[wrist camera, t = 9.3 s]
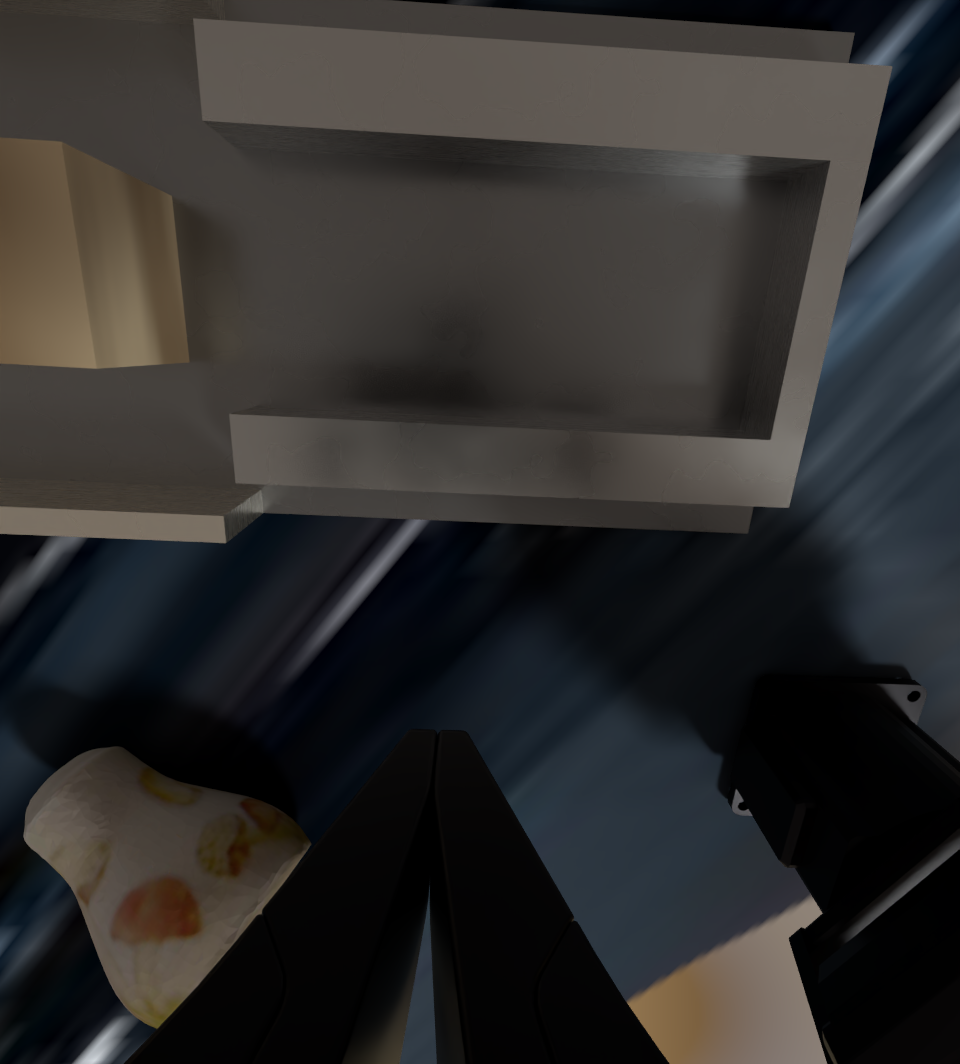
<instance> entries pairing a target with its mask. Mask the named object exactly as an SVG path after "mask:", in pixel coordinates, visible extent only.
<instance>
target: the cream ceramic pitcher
mask: <svg viewBox="0 0 960 1064" xmlns="http://www.w3.org/2000/svg"><path fill="white" fill-rule="evenodd" d="M24 839H25V841H26V843H27V844H28V845H29V847H30V848H32V849H33V850H34V851H35V852H37V853H38V854H39V855H40V856H41V857H42V858H43V859H45V860H46V861H47V862H48V863H49V864H50V865H51V866H52V867H53V868H54V869H55V870H56V871H57V872H58V873H59V874H60V875H61V876H62V877H63V878H64V879H65V880H66V882H67V883H68V884H69V885H70V887H71V888H72V890H73V892H74V894H75V896H76V898H77V900H78V903H79V905H80V908H81V910H82V913H83V915H84V918H85V921H86V924H87V926H88V929H89V932H90V935H91V937H92V940H93V943H94V945H95V948H96V951H97V953H98V956H99V958H100V961H101V963H102V966H103V968H104V971H105V973H106V975H107V977H108V980H109V982H110V984H111V986H112V988H113V989H114V991H115V993H116V995H117V996H118V997H119V999H120V1000H121V1002H122V1003H123V1005H124V1006H125V1007H126V1008H127V1009H128V1010H129V1011H130V1012H131V1013H132V1014H133V1015H134V1016H135V1017H137V1018H138V1019H140V1020H141V1021H143V1022H144V1023H146V1024H148V1025H150V1026H152V1027H155V1028H158V1027H159V1026H160V1025H161V1024H162V1023H163V1022H164V1021H165V1020H166V1019H167V1018H168V1017H169V1016H170V1015H171V1014H172V1013H173V1011H174V1010H175V1009H176V1008H177V1007H178V1006H179V1005H180V1004H181V1003H182V1002H183V1001H184V1000H185V999H186V998H187V997H188V996H189V995H190V993H191V992H192V991H193V990H194V989H195V988H196V987H197V986H198V985H199V984H200V982H201V981H202V980H203V979H204V978H205V977H206V975H207V974H208V973H209V972H210V971H211V970H212V968H213V967H214V966H215V965H216V964H217V963H218V961H219V960H220V959H221V958H222V957H223V956H224V954H225V953H226V952H227V951H228V950H229V949H230V947H231V946H232V945H233V944H234V943H235V942H236V940H237V939H238V938H239V937H240V935H241V934H242V933H243V932H244V930H245V929H246V928H247V927H248V925H249V924H250V923H251V922H252V921H253V919H254V918H255V917H256V916H257V915H259V914H261V913H262V909H263V908H264V906H265V905H266V904H267V903H268V902H269V900H270V899H271V898H272V897H273V895H274V894H275V893H276V892H277V891H278V889H279V888H280V887H281V886H282V884H283V883H284V882H285V880H286V879H287V878H288V876H289V875H290V873H291V872H292V871H293V869H294V868H295V866H296V865H297V864H298V862H299V861H300V860H301V858H302V857H303V855H304V854H305V853H306V851H307V850H308V848H309V847H310V846H311V843H310V840H309V839H308V838H307V836H306V835H305V833H304V832H303V830H302V829H301V828H300V827H299V825H298V824H297V823H296V822H295V821H294V820H293V819H292V818H291V817H289V816H288V815H287V814H285V813H284V812H282V811H281V810H279V809H277V808H276V807H274V806H272V805H270V804H268V803H265V802H263V801H260V800H257V799H254V798H251V797H248V796H243V795H239V794H235V793H230V792H225V791H220V790H215V789H210V788H205V787H201V786H196V785H191V784H187V783H183V782H179V781H176V780H174V779H171V778H168V777H166V776H164V775H162V774H160V773H159V772H157V771H156V770H154V769H153V768H151V767H149V766H148V765H146V764H145V763H143V762H142V761H141V760H139V759H138V758H137V757H135V756H134V755H133V754H131V753H130V752H129V751H127V750H126V749H124V748H123V747H119V746H115V747H109V748H98V749H93V750H90V751H87V752H85V753H82V754H80V755H78V756H77V757H75V758H74V759H72V760H71V761H70V762H68V763H67V764H66V765H64V766H63V767H61V768H60V769H59V770H58V771H56V772H55V773H54V774H53V775H52V776H51V777H49V778H48V779H47V780H46V782H45V783H44V784H43V785H42V786H41V787H40V788H39V790H38V791H37V792H36V794H35V795H34V796H33V798H32V799H31V801H30V803H29V805H28V808H27V810H26V816H25V830H24Z"/></svg>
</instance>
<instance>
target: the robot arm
mask: <svg viewBox="0 0 960 1064" xmlns="http://www.w3.org/2000/svg"><path fill="white" fill-rule="evenodd" d="M771 686H774V687H773V689H771V690H770V691H767V689H768V688H769V687H771ZM910 692H911V694H909V693H910ZM908 694H909V695H908ZM926 697H927V691H926V689H925V688H924V687H923V686H922V685H920V684H919V683H918V682H916V681H915V680H911V679H891V678H863V677H835V676H807V675H779V674H768V675H764V676H762V677H760V678H759V679H758V680H757V682H756V684H755V687H754V691H753V695H752V699H751V704H750V708H749V712H748V716H747V720H746V725H745V726H744V727H743V729H742V731H741V735H740V739H739V743H738V747H737V752H736V756H735V760H734V764H733V769H732V773H731V781H732V783H731V787H730V791H729V796H728V803H729V804H730V806H731V808H732V810H733V812H734V813H736V814H737V815H746V816H753V818H754V819H755V821H756V823H757V824H758V826H759V828H760V829H761V831H762V833H763V834H764V836H765V838H766V839H767V841H768V843H769V844H770V846H771V848H772V850H773V851H774V853H775V855H776V856H777V858H778V860H779V861H780V862H781V863H782V864H783V865H784V866H785V867H787V868H795V869H796V871H797V872H798V874H799V876H800V877H801V879H802V880H803V882H804V884H805V885H806V887H807V889H808V890H809V892H810V893H811V895H812V897H813V898H814V900H815V902H816V903H817V905H818V906H819V908H820V910H821V911H822V913H823V914H822V915H820V916H819V917H818V918H817V919H816V920H815V921H813V922H812V923H811V924H810V925H809V926H808V927H806V928H805V929H804V928H800V929H799V930H798V931H796V932H795V933H794V934H793V935H792V936H791V937H789V941H790V945H791V948H792V951H793V954H794V958H795V961H796V964H797V967H798V971H799V973H800V977H801V980H802V983H803V987H804V990H805V993H806V996H807V1000H808V1003H809V1006H810V1009H811V1012H812V1016H813V1019H814V1022H815V1025H816V1029H817V1032H818V1035H819V1038H820V1042H821V1045H822V1048H823V1051H824V1054H825V1058H826V1061H827V1064H960V762H959V761H958V760H957V759H956V758H954V757H953V756H952V755H951V754H950V753H949V752H947V751H946V750H945V749H944V748H943V747H942V746H940V745H939V744H938V743H937V742H936V741H935V740H933V739H932V738H931V737H930V736H929V735H928V734H926V733H925V732H924V731H923V730H922V729H921V728H919V727H918V726H917V723H918V720H919V717H920V714H921V711H922V708H923V706H924V703H925V700H926ZM742 801H744V802H742ZM740 802H742V803H740ZM429 886H430V930H431V950H432V971H433V992H434V1012H435V1033H436V1054H437V1064H669V1062H668V1061H667V1060H666V1058H665V1057H664V1056H663V1054H662V1053H661V1051H660V1050H659V1049H658V1047H657V1046H656V1044H655V1043H654V1041H653V1040H652V1038H651V1037H650V1036H649V1034H648V1033H647V1031H646V1030H645V1028H644V1027H643V1026H642V1024H641V1023H640V1021H639V1020H638V1018H637V1017H636V1015H635V1014H634V1013H633V1011H632V1010H631V1008H630V1007H629V1005H628V1004H627V1002H626V1001H625V1000H624V998H623V997H622V995H621V993H620V992H619V990H618V988H617V987H616V985H615V984H614V982H613V980H612V979H611V977H610V976H609V974H608V972H607V971H606V969H605V967H604V966H603V964H602V963H601V961H600V959H599V958H598V956H597V955H596V953H595V951H594V950H593V948H592V946H591V944H590V943H589V941H588V939H587V937H586V936H585V934H584V932H583V931H582V929H581V927H580V925H579V924H578V922H576V921H574V916H573V914H572V912H571V910H570V909H569V907H568V905H567V903H566V902H565V900H564V898H563V897H562V895H561V893H560V891H559V890H558V888H557V886H556V884H555V883H554V881H553V879H552V878H551V876H550V874H549V872H548V871H547V869H546V867H545V865H544V864H543V862H542V860H541V859H540V857H539V855H538V853H537V852H536V850H535V848H534V847H533V845H532V843H531V841H530V840H529V838H528V836H527V834H526V833H525V831H524V829H523V828H522V826H521V824H520V822H519V821H518V819H517V817H516V815H515V814H514V812H513V810H512V809H511V807H510V805H509V803H508V802H507V800H506V798H505V796H504V795H503V793H502V791H501V790H500V788H499V786H498V784H497V783H496V781H495V779H494V777H493V776H492V774H491V772H490V771H489V769H488V767H487V765H486V764H485V762H484V760H483V758H482V757H481V755H480V753H479V752H478V750H477V748H476V746H475V745H474V743H473V741H472V739H471V738H470V736H469V734H468V733H467V732H466V731H461V730H441V731H440V732H439V733H438V735H437V732H436V731H435V730H428V729H411V730H409V731H408V732H407V733H406V734H405V735H404V736H403V738H402V739H401V740H400V741H399V743H398V744H397V745H396V746H395V747H394V749H393V750H392V751H391V752H390V754H389V755H388V756H387V757H386V758H385V760H384V761H383V762H382V763H381V765H380V766H379V767H378V768H377V769H376V771H375V772H374V773H373V774H372V776H371V777H370V778H369V779H368V780H367V782H366V783H365V784H364V785H363V787H362V788H361V789H360V790H359V791H358V793H357V794H356V795H355V796H354V798H353V799H352V800H351V801H350V802H349V804H348V805H347V806H346V807H345V809H344V810H343V811H342V812H341V813H340V815H339V816H338V817H337V818H336V820H335V821H334V822H333V823H332V825H331V826H330V827H329V828H328V829H327V831H326V832H325V833H324V834H323V836H322V837H321V838H320V839H319V840H318V842H317V843H316V844H315V845H314V847H313V848H312V849H311V850H310V851H309V853H308V854H307V855H306V856H305V858H304V859H303V860H302V861H301V862H300V864H299V865H298V866H297V867H296V869H295V870H294V871H293V872H292V873H291V875H290V876H289V877H288V878H287V880H286V881H285V882H284V883H283V884H282V886H281V887H280V888H279V889H278V891H277V892H276V893H275V894H274V895H273V897H272V898H271V899H270V900H269V902H268V903H267V904H266V905H265V906H264V908H263V909H262V915H261V914H259V915H257V916H256V917H255V918H254V919H253V921H252V922H251V923H250V924H249V925H248V927H247V928H246V929H245V930H244V932H243V933H242V934H241V935H240V937H239V938H238V939H237V940H236V942H235V943H234V944H233V945H232V946H231V947H230V949H229V950H228V951H227V952H226V953H225V954H224V956H223V957H222V958H221V959H220V960H219V961H218V963H217V964H216V965H215V966H214V967H213V968H212V970H211V971H210V972H209V973H208V974H207V975H206V977H205V978H204V979H203V980H202V981H201V982H200V984H199V985H198V986H197V987H196V988H195V989H194V990H193V991H192V992H191V993H190V995H189V996H188V997H187V998H186V999H185V1000H184V1001H183V1002H182V1003H181V1004H180V1005H179V1006H178V1007H177V1008H176V1009H175V1010H174V1011H173V1013H172V1014H171V1015H170V1016H169V1017H168V1018H167V1019H166V1020H165V1021H164V1022H163V1023H162V1024H161V1025H160V1026H159V1027H158V1028H157V1030H156V1031H155V1032H154V1033H153V1034H152V1035H151V1036H150V1037H149V1038H148V1039H147V1040H146V1041H145V1042H144V1043H143V1044H142V1045H141V1046H140V1047H139V1048H138V1049H137V1050H136V1051H135V1052H134V1053H133V1055H132V1056H131V1057H130V1058H129V1059H128V1060H127V1061H126V1062H125V1063H124V1064H399V1063H400V1058H401V1052H402V1047H403V1041H404V1035H405V1030H406V1024H407V1019H408V1013H409V1007H410V1002H411V996H412V991H413V985H414V980H415V974H416V968H417V963H418V957H419V952H420V946H421V941H422V935H423V929H424V924H425V918H426V911H427V905H428V897H429Z"/></svg>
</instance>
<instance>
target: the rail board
mask: <svg viewBox="0 0 960 1064" xmlns="http://www.w3.org/2000/svg"><path fill="white" fill-rule="evenodd" d="M854 34H855V33H847V32H833V31H818V30H804V29H790V28H776V27H762V26H747V25H733V24H719V23H705V22H691V21H677V20H662V19H648V18H634V17H620V16H606V15H591V14H577V13H563V12H549V11H535V10H520V9H506V8H492V7H478V6H464V5H449V4H435V3H421V2H407V1H393V0H0V137H1V138H16V139H30V140H45V141H60V142H63V143H65V144H67V145H69V146H71V147H73V148H75V149H77V150H79V151H82V152H84V153H86V154H88V155H90V156H92V157H94V158H96V159H98V160H100V161H102V162H104V163H106V164H108V165H110V166H112V167H114V168H116V169H118V170H120V171H122V172H124V173H126V174H128V175H130V176H132V177H134V178H136V179H139V180H141V181H143V182H145V183H147V184H149V185H151V186H153V187H155V188H157V189H159V190H161V191H163V192H165V193H167V194H169V195H171V196H172V201H173V211H174V220H175V230H176V239H177V249H178V258H179V268H180V277H181V287H182V296H183V305H184V315H185V324H186V334H187V343H188V353H189V362H188V363H174V364H159V365H145V366H130V367H115V368H101V369H92V368H74V367H55V366H37V365H19V364H1V363H0V534H23V535H47V536H71V537H95V538H119V539H143V540H167V541H191V542H216V543H227V542H228V541H229V540H230V539H232V538H233V537H234V536H235V535H237V534H238V533H239V532H240V531H241V530H243V529H244V528H245V527H246V526H248V525H249V524H250V523H251V522H252V521H254V520H255V519H256V518H257V517H259V516H260V515H261V514H262V513H281V514H305V515H328V516H351V517H374V518H397V519H420V520H444V521H467V522H490V523H513V524H536V525H559V526H583V527H606V528H629V529H652V530H675V531H698V532H722V533H745V534H748V531H749V526H750V521H751V517H752V512H753V507H754V506H756V507H779V508H789V505H790V501H791V497H792V492H793V488H794V484H795V480H796V475H797V471H798V467H799V463H800V458H801V454H802V450H803V446H804V441H805V437H806V433H807V428H808V424H809V420H810V416H811V411H812V407H813V403H814V399H815V394H816V390H817V386H818V382H819V377H820V373H821V369H822V364H823V360H824V356H825V352H826V347H827V343H828V339H829V335H830V330H831V326H832V322H833V317H834V313H835V309H836V305H837V300H838V296H839V292H840V288H841V283H842V279H843V275H844V271H845V266H846V262H847V258H848V253H849V249H850V245H851V241H852V236H853V232H854V228H855V224H856V219H857V215H858V211H859V207H860V202H861V198H862V194H863V189H864V185H865V181H866V177H867V172H868V168H869V164H870V160H871V155H872V151H873V147H874V143H875V138H876V134H877V130H878V125H879V121H880V117H881V113H882V108H883V104H884V100H885V96H886V91H887V87H888V83H889V79H890V74H891V70H892V66H879V65H865V64H850V63H848V62H849V57H850V53H851V48H852V43H853V39H854Z"/></svg>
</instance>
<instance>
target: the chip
mask: <svg viewBox="0 0 960 1064" xmlns="http://www.w3.org/2000/svg"><path fill="white" fill-rule="evenodd" d="M188 362H189V353H188V343H187V334H186V324H185V315H184V305H183V296H182V287H181V277H180V268H179V258H178V249H177V239H176V230H175V220H174V211H173V201H172V196H171V195H169V194H167V193H165V192H163V191H161V190H159V189H157V188H155V187H153V186H151V185H149V184H147V183H145V182H143V181H141V180H139V179H136V178H134V177H132V176H130V175H128V174H126V173H124V172H122V171H120V170H118V169H116V168H114V167H112V166H110V165H108V164H106V163H104V162H102V161H100V160H98V159H96V158H94V157H92V156H90V155H88V154H86V153H84V152H82V151H79V150H77V149H75V148H73V147H71V146H69V145H67V144H65V143H63V142H60V141H45V140H30V139H16V138H1V137H0V363H1V364H19V365H37V366H55V367H74V368H92V369H101V368H115V367H130V366H145V365H159V364H174V363H188Z"/></svg>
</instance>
